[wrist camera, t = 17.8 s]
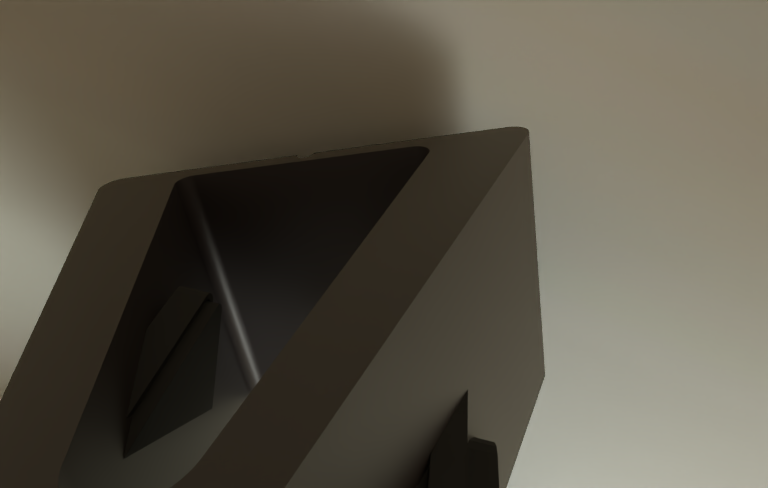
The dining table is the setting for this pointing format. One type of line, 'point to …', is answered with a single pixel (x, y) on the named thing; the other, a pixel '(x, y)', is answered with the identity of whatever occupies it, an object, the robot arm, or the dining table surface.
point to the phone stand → (295, 320)
